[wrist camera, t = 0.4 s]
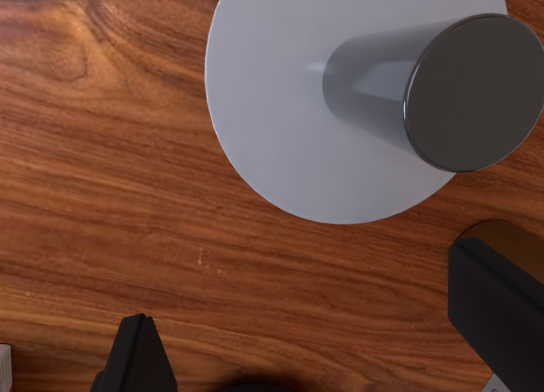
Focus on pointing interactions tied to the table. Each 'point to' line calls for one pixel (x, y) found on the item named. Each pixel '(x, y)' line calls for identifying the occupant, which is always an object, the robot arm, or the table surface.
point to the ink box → (5, 369)
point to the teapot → (254, 388)
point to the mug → (512, 244)
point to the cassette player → (495, 385)
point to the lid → (368, 98)
